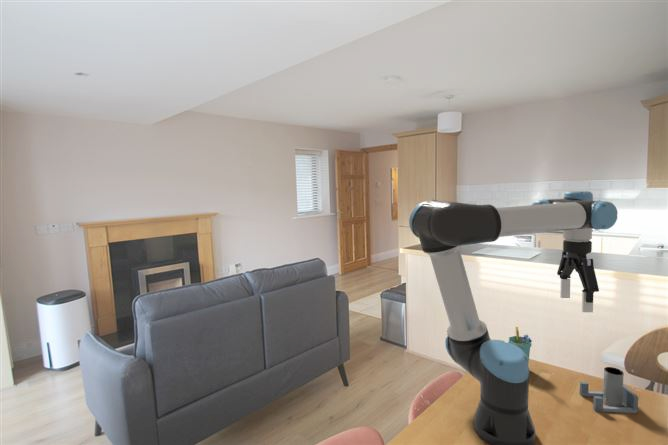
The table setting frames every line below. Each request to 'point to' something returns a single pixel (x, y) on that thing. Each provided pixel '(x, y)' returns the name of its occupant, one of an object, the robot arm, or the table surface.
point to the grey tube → (613, 387)
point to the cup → (521, 342)
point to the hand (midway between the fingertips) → (575, 304)
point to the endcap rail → (628, 400)
